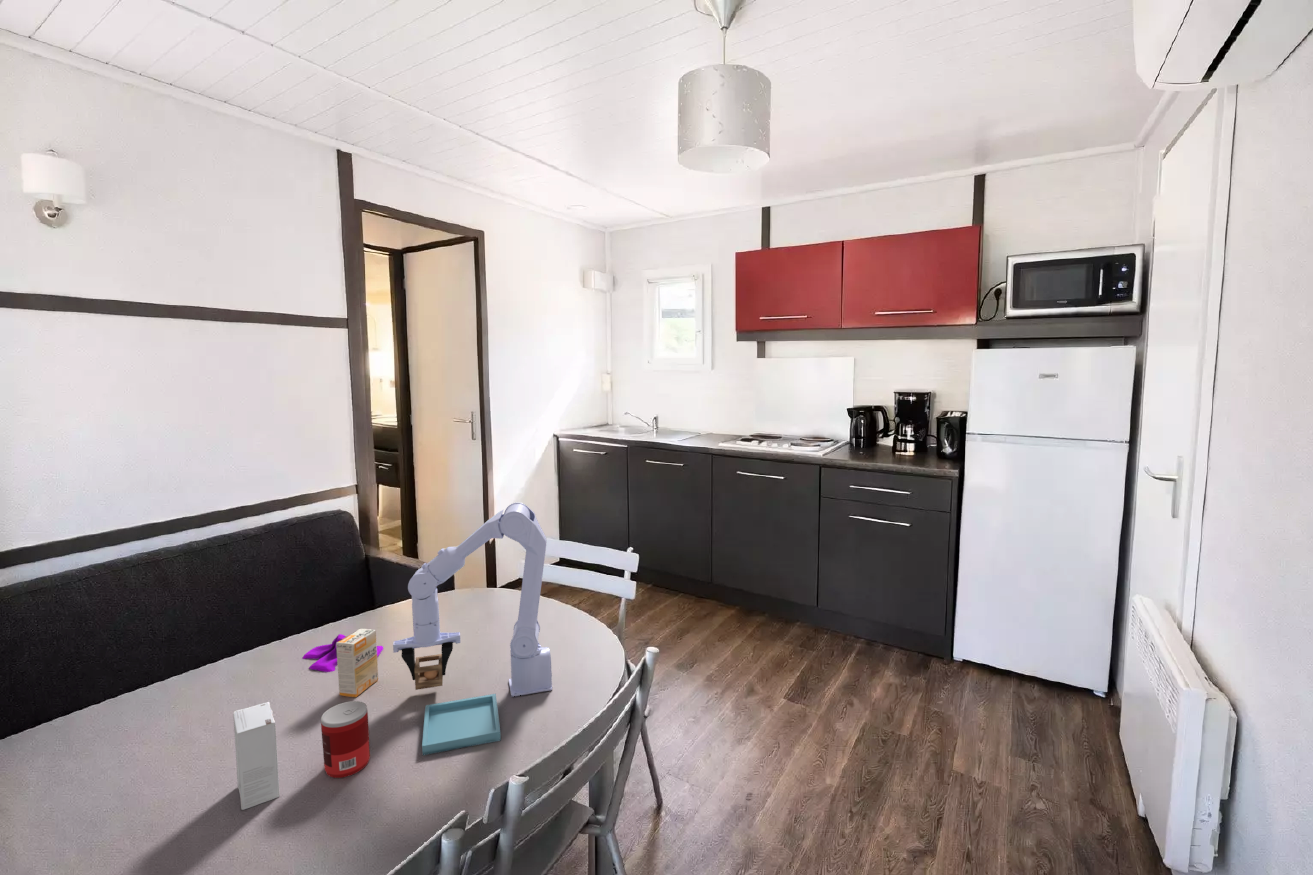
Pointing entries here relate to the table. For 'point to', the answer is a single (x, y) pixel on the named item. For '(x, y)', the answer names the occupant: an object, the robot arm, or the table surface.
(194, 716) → the table surface
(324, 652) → the cloth
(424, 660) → the wooden cage puzzle
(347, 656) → the supplement box
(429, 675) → the ball
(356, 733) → the canned food
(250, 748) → the skincare box
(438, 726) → the tray
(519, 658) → the robot arm
